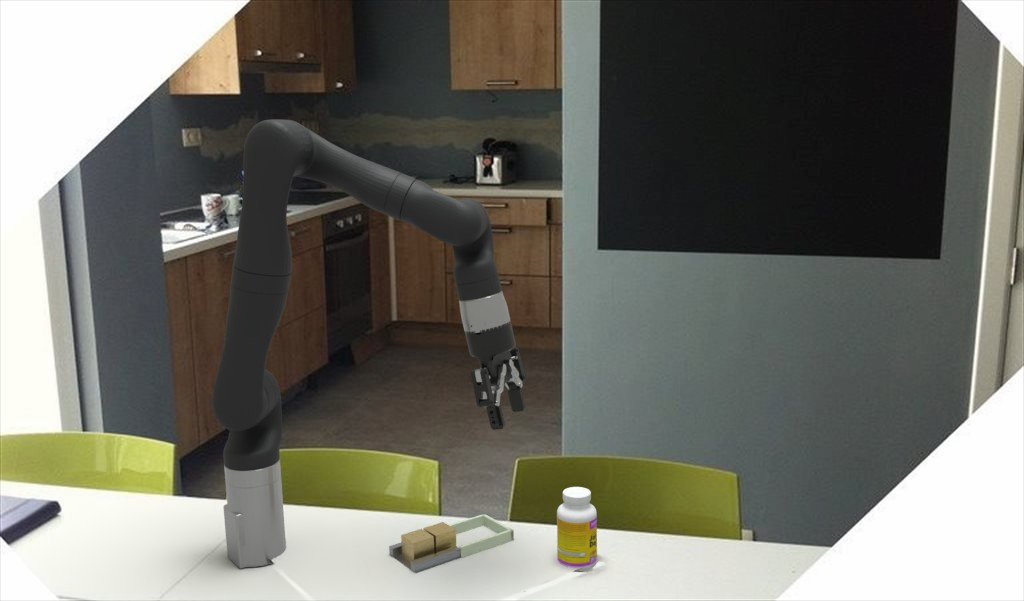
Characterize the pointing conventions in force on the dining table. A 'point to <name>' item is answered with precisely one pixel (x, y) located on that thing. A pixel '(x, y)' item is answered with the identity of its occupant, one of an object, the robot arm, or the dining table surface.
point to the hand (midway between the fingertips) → (509, 419)
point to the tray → (502, 537)
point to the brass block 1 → (417, 545)
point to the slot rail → (425, 558)
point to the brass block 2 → (442, 536)
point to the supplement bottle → (577, 530)
